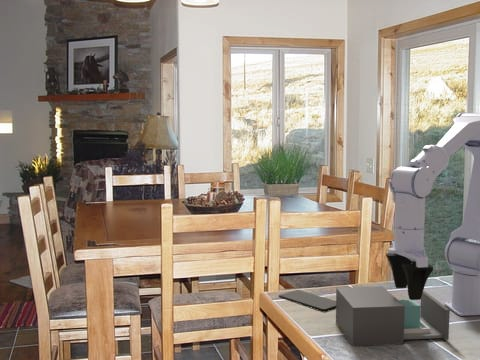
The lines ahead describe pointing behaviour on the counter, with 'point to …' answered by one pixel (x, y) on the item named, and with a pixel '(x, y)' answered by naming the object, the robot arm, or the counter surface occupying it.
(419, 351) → the counter surface
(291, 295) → the smartphone
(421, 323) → the tray
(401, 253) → the robot arm
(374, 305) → the dark grey cuboid box
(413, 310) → the block
